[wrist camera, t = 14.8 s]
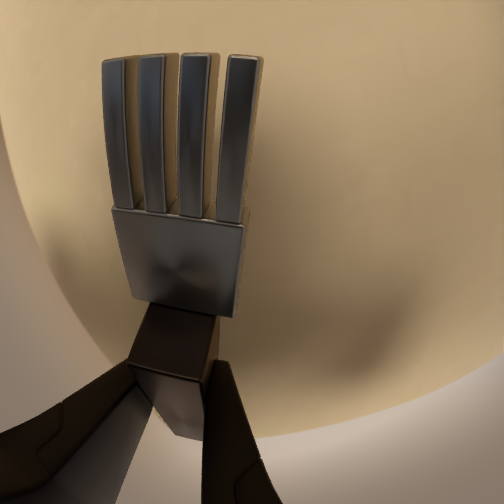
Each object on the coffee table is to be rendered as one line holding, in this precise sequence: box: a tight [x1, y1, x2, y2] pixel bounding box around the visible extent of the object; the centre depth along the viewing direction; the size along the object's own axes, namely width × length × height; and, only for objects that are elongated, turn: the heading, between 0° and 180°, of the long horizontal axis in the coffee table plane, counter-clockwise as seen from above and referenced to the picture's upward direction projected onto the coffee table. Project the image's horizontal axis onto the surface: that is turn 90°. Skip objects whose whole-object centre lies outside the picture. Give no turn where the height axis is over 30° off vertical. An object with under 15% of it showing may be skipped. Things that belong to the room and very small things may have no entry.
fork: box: [102, 52, 264, 441], centre depth 7 cm, size 13×2×2 cm, turn 172°
